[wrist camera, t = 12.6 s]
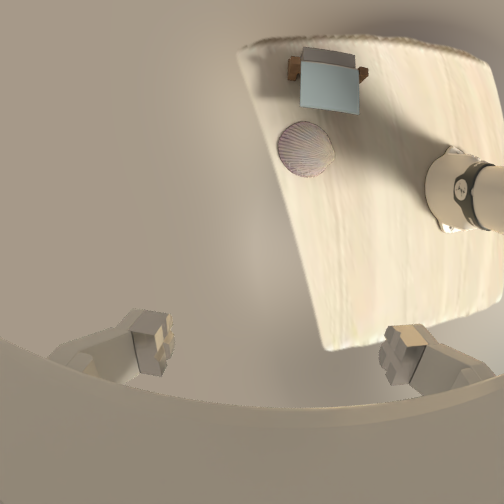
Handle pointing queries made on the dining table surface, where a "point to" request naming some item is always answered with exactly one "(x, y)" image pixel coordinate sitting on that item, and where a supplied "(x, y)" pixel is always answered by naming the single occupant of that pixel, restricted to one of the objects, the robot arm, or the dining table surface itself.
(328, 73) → the trapdoor
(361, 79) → the frame
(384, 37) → the dining table surface
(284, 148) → the seashell
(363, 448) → the robot arm
